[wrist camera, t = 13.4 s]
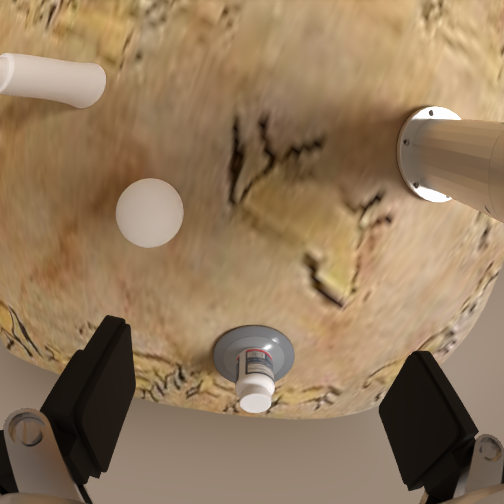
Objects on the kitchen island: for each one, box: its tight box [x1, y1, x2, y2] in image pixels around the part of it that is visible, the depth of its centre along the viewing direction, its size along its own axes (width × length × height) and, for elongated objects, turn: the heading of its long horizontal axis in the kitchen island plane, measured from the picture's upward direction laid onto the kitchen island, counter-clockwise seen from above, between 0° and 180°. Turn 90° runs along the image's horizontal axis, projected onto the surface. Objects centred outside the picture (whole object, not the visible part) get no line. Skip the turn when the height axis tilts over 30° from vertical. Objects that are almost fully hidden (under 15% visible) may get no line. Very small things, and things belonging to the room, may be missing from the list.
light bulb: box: [116, 178, 184, 248], centre depth 30 cm, size 7×7×11 cm
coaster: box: [213, 325, 294, 383], centre depth 44 cm, size 12×12×1 cm
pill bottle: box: [235, 347, 275, 413], centre depth 40 cm, size 5×5×9 cm
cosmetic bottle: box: [0, 53, 106, 108], centre depth 19 cm, size 6×6×22 cm
